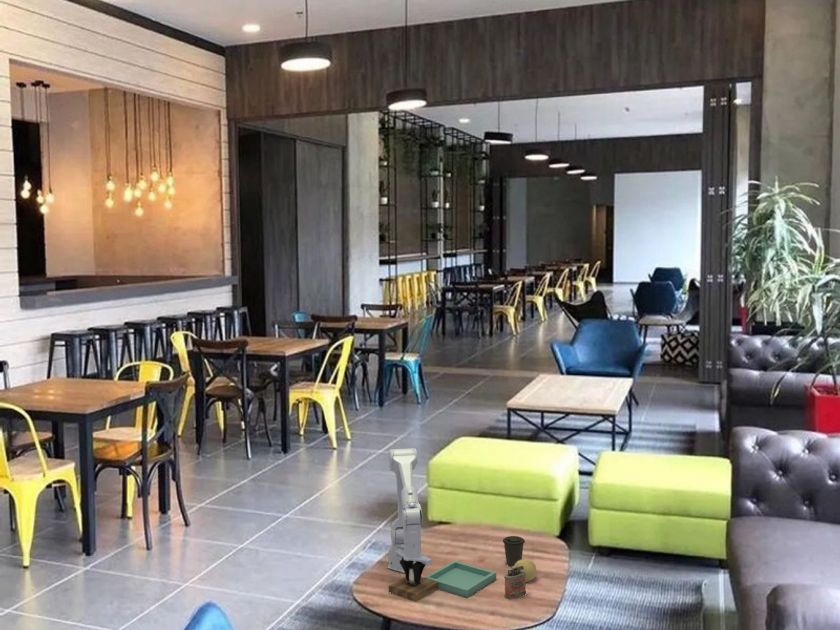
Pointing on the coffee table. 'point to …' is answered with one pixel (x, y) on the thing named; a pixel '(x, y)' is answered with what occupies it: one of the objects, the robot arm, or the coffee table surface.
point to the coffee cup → (513, 549)
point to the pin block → (413, 588)
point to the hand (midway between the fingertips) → (413, 581)
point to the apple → (527, 569)
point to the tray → (462, 578)
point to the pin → (411, 577)
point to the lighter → (515, 582)
